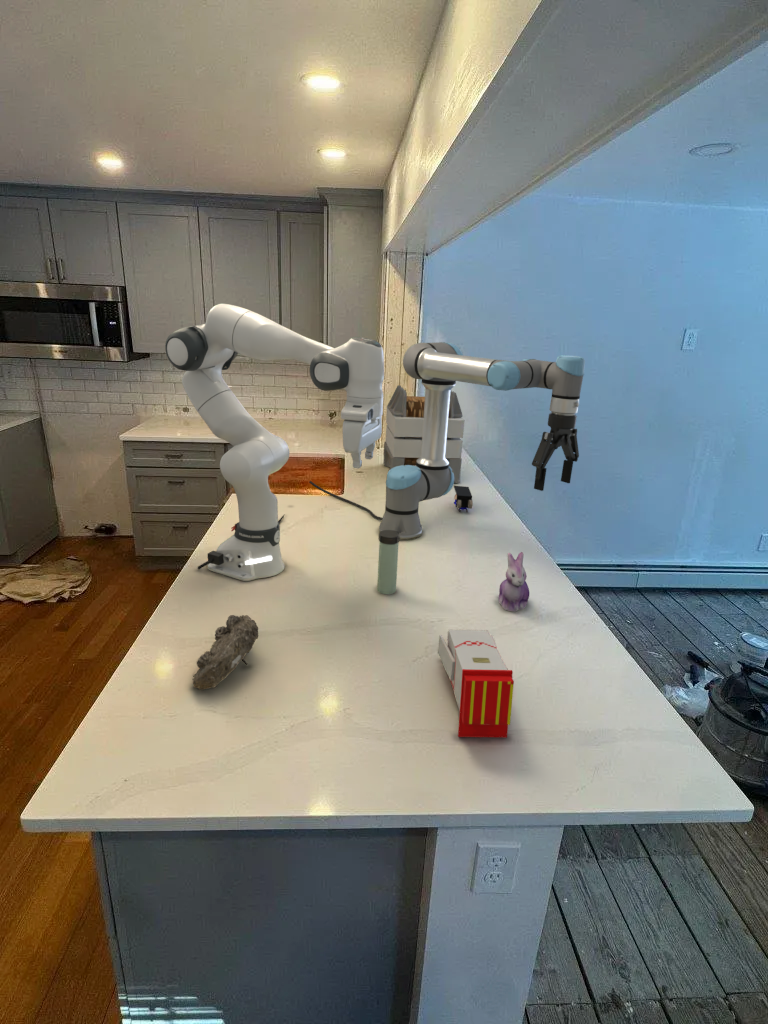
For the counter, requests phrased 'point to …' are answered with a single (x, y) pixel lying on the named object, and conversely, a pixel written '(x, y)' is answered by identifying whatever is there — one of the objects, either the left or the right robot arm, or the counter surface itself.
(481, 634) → the toy
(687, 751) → the counter surface
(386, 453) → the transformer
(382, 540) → the lid
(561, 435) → the right robot arm
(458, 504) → the figurine character
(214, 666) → the fossil
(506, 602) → the figurine
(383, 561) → the pale green tall cylinder
